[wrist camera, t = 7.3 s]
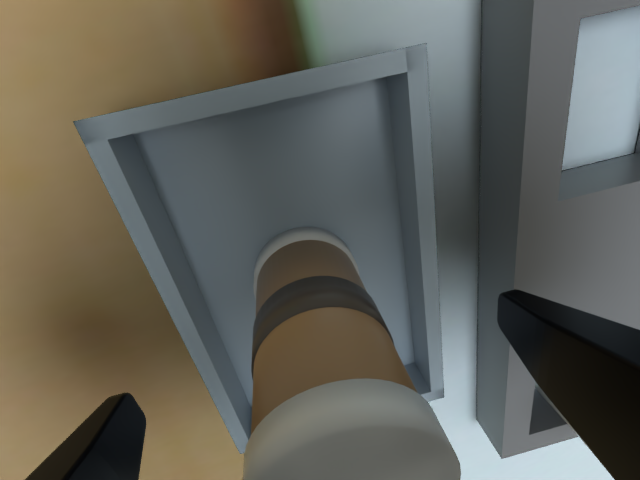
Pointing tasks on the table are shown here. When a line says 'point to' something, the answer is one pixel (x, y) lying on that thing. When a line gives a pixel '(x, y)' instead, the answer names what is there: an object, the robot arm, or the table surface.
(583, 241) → the fuse block
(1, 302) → the table surface
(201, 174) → the parts tray
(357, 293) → the fuse
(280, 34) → the table surface
